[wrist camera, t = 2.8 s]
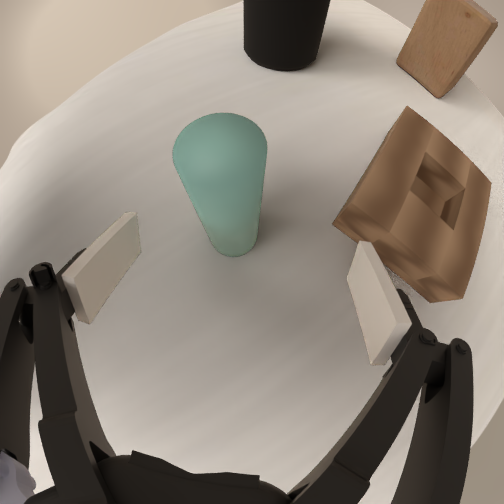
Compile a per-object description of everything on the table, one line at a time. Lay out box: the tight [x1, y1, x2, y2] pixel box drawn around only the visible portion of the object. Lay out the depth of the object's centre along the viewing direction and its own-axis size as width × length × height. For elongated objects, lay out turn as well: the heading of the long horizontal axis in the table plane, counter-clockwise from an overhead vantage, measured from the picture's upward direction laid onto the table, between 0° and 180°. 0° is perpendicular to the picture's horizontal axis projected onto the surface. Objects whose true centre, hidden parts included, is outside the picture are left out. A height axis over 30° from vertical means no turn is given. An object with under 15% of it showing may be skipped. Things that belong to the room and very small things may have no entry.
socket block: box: [332, 106, 491, 303], centre depth 24 cm, size 14×16×6 cm
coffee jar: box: [244, 0, 330, 71], centre depth 23 cm, size 11×11×18 cm
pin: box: [173, 113, 267, 257], centre depth 19 cm, size 4×4×14 cm
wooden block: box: [396, 0, 498, 98], centre depth 23 cm, size 10×10×20 cm
